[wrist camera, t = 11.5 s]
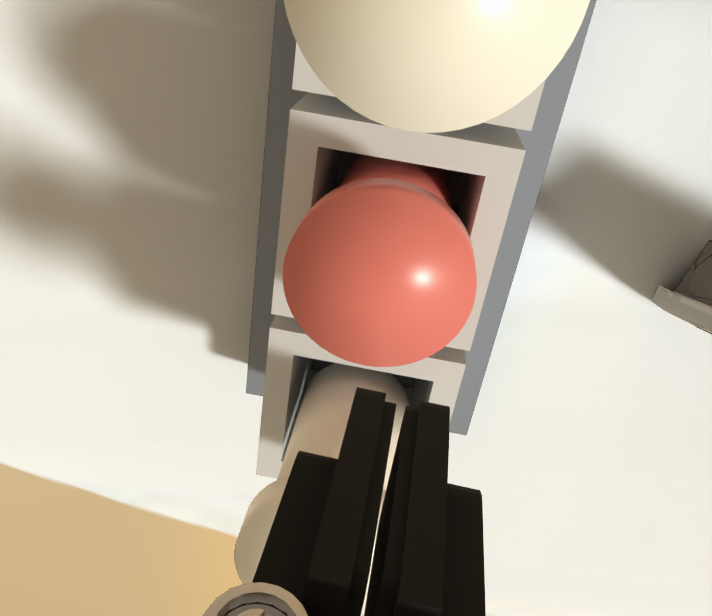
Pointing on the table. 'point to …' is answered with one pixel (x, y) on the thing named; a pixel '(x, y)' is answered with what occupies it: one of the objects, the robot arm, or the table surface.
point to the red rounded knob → (382, 265)
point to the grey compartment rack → (468, 200)
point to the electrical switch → (691, 294)
